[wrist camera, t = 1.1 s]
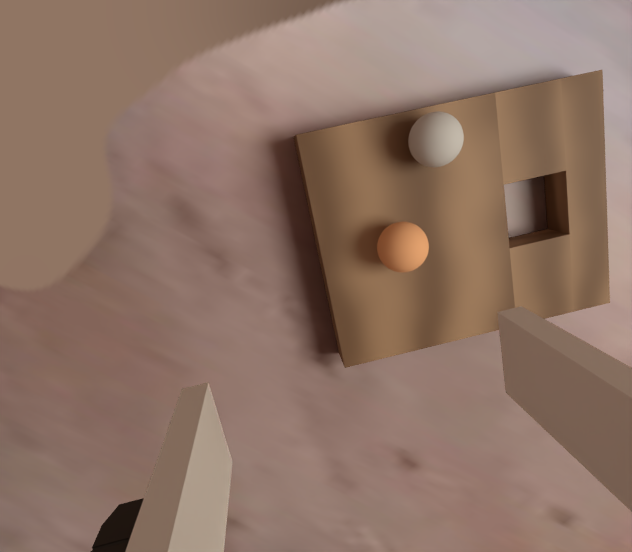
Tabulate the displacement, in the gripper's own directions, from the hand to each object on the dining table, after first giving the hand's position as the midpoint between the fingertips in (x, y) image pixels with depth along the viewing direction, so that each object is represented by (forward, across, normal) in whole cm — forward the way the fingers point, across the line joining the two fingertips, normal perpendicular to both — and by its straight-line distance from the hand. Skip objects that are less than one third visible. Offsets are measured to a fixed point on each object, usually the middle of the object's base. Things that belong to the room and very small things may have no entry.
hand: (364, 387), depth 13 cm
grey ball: (+15, +9, +6) cm, 19 cm away
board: (+19, +11, 0) cm, 22 cm away
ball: (+15, +6, 0) cm, 16 cm away
